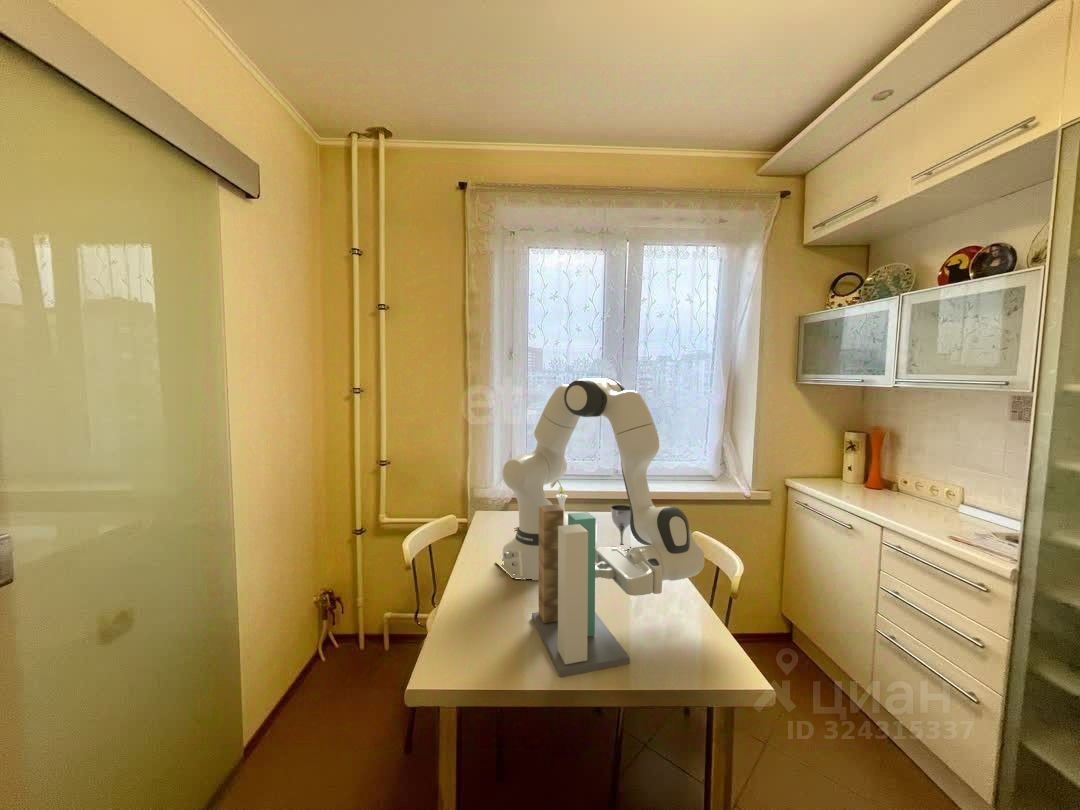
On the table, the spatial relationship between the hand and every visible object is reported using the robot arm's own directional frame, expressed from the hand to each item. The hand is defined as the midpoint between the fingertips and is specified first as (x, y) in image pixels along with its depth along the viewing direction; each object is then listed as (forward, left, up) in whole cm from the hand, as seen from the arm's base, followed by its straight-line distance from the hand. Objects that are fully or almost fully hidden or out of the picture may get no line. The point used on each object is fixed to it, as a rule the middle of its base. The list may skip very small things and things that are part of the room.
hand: (591, 571), depth 101 cm
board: (-2, -3, -16) cm, 16 cm away
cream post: (+4, -10, -14) cm, 18 cm away
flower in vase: (-61, +48, -16) cm, 80 cm away
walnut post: (-10, -4, -14) cm, 18 cm away
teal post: (-1, -2, -14) cm, 14 cm away
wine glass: (-31, +51, -16) cm, 62 cm away
